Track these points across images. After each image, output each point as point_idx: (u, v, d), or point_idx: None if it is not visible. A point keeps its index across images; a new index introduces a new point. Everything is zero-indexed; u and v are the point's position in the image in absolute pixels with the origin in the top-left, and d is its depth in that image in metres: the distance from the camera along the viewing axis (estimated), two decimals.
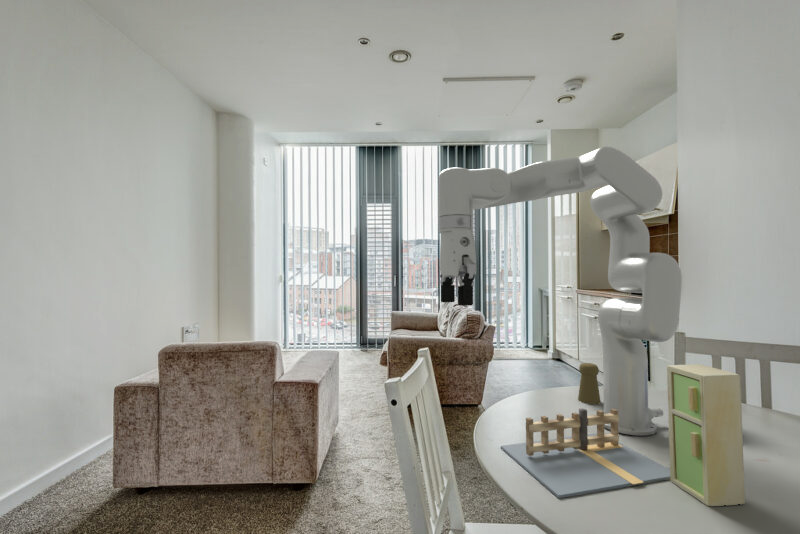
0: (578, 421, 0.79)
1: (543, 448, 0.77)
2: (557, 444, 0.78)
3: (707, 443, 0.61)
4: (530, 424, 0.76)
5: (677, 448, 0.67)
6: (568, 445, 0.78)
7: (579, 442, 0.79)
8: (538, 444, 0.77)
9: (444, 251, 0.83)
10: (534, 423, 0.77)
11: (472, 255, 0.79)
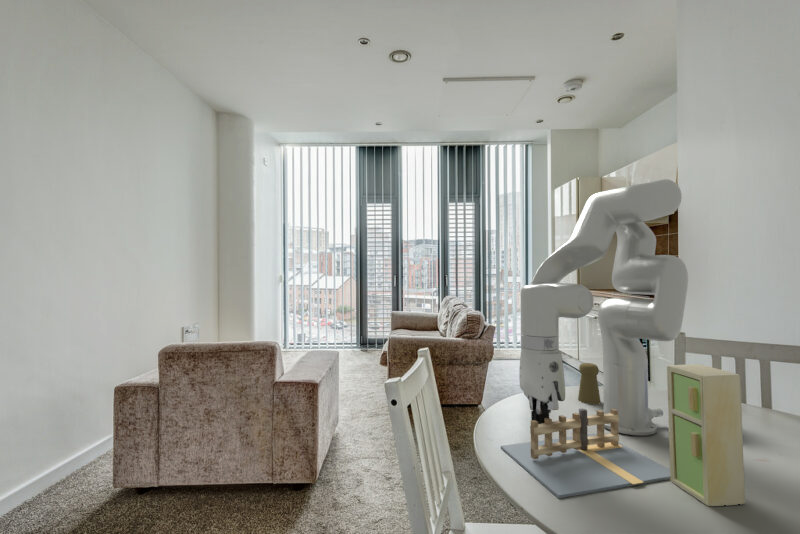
0: (579, 421, 0.79)
1: (547, 450, 0.76)
2: (560, 446, 0.77)
3: (707, 443, 0.61)
4: (535, 427, 0.75)
5: (677, 448, 0.67)
6: (570, 446, 0.78)
7: (580, 442, 0.79)
8: (542, 447, 0.76)
9: (528, 370, 0.79)
10: (539, 426, 0.75)
11: (561, 381, 0.75)
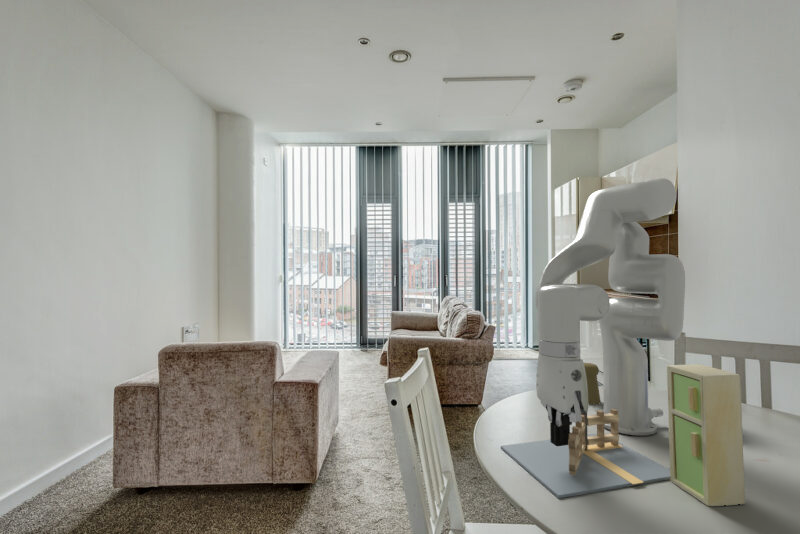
0: None
1: (578, 462, 0.71)
2: (581, 452, 0.74)
3: (707, 443, 0.61)
4: (575, 440, 0.69)
5: (677, 448, 0.67)
6: (583, 450, 0.76)
7: (584, 443, 0.78)
8: None
9: (547, 378, 0.73)
10: None
11: (584, 390, 0.69)
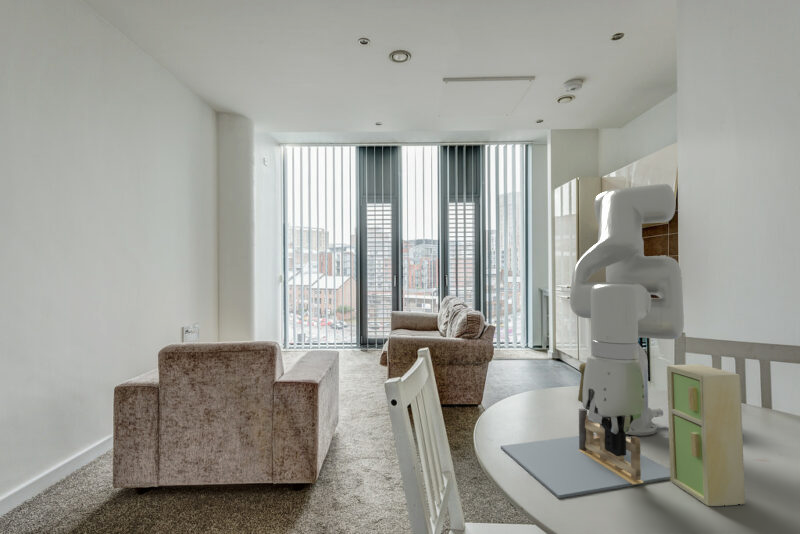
0: None
1: None
2: None
3: (707, 443, 0.61)
4: None
5: (677, 448, 0.67)
6: None
7: None
8: (626, 463, 0.69)
9: (624, 385, 0.67)
10: (631, 441, 0.69)
11: None
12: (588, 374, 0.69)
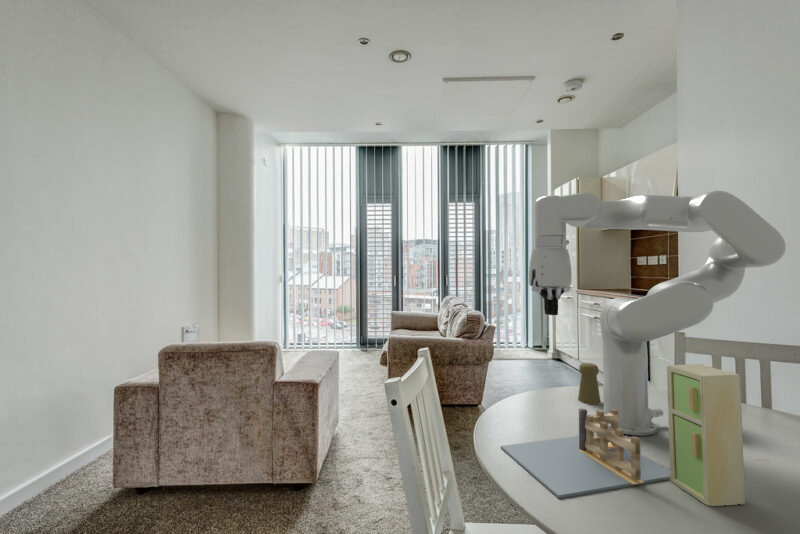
0: None
1: None
2: None
3: (707, 443, 0.61)
4: None
5: (677, 448, 0.67)
6: None
7: None
8: (626, 463, 0.69)
9: (555, 265, 0.96)
10: None
11: None
12: (532, 260, 0.98)
